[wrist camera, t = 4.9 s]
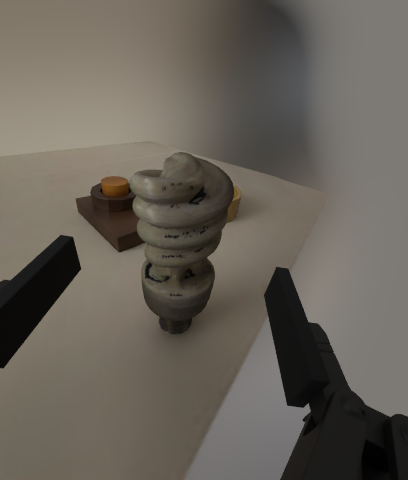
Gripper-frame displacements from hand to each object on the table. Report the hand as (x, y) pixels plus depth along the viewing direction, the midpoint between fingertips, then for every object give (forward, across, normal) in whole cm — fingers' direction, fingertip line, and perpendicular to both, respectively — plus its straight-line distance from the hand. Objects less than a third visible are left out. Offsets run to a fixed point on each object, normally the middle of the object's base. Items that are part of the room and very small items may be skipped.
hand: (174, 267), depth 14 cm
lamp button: (+19, -12, -4) cm, 22 cm away
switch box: (+17, -10, -8) cm, 21 cm away
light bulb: (+1, 0, -8) cm, 8 cm away
